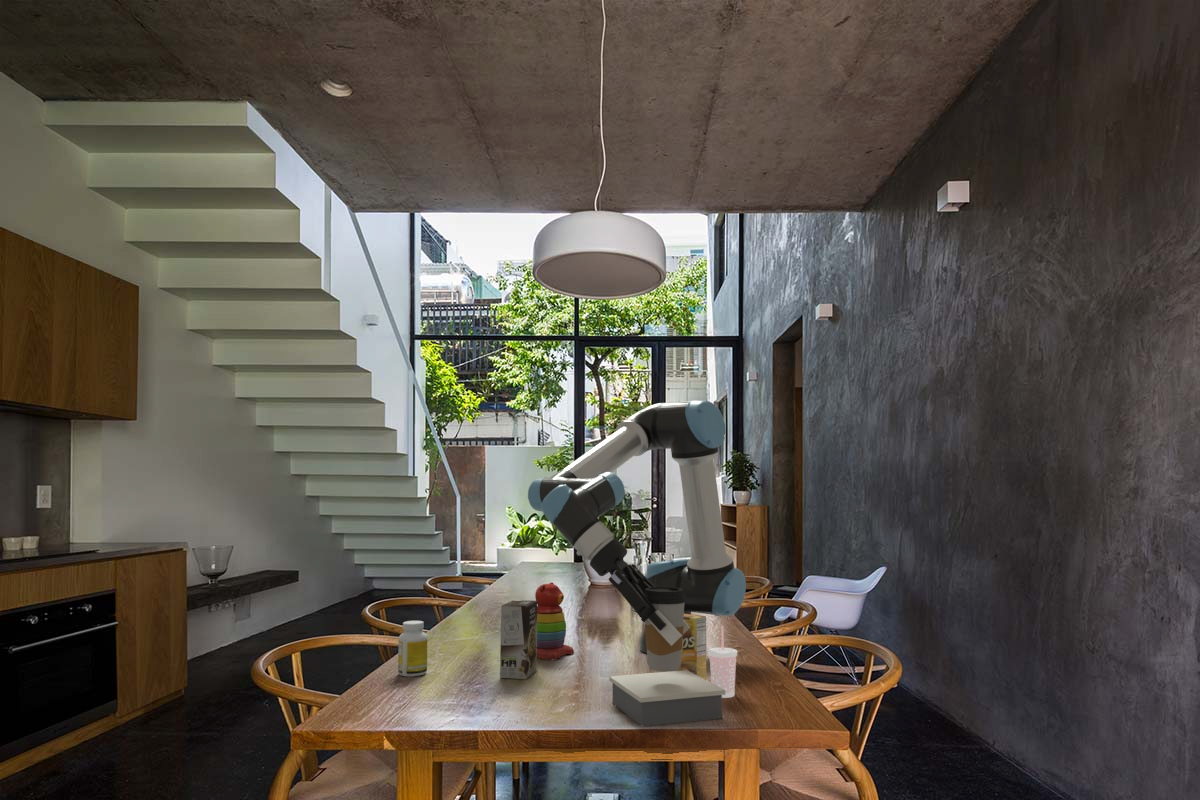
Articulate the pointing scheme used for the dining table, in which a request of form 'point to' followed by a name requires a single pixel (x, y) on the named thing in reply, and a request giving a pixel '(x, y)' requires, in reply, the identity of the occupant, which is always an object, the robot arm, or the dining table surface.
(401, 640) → the pill bottle
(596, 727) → the dining table surface
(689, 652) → the candy box
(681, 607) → the coffee cup
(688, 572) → the robot arm
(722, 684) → the beverage cup
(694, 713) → the lidded box
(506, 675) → the coffee box
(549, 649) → the stacking bear
